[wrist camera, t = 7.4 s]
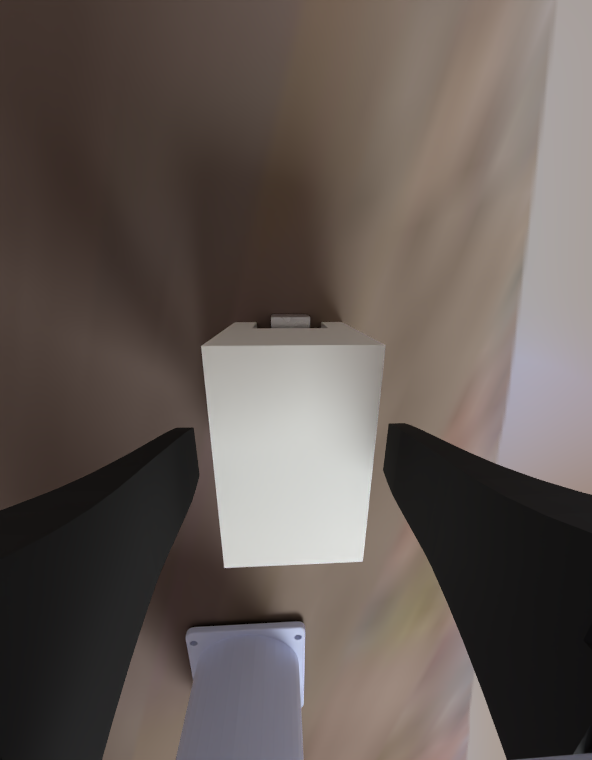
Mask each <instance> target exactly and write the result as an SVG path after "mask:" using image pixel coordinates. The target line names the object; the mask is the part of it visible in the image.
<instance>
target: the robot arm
mask: <svg viewBox="0 0 592 760" xmlns="http://www.w3.org/2000/svg"><path fill="white" fill-rule="evenodd" d="M383 471H384V474H385V477H386V479H387V482H388V485H389V487H390V490H391V492H392V495H393V496H394V498H395V500H396V502H397V504H398V506H399V508H400V509H401V511H402V513H403V515H404V517H405V518H406V520H407V522H408V524H409V526H410V527H411V529H412V531H413V533H414V535H415V536H416V538H417V540H418V542H419V544H420V545H421V547H422V549H423V551H424V553H425V555H426V557H427V559H428V561H429V563H430V565H431V566H432V569H433V571H434V573H435V576H436V578H437V580H438V582H439V585H440V587H441V589H442V591H443V594H444V596H445V598H446V601H447V603H448V605H449V608H450V610H451V613H452V615H453V618H454V620H455V622H456V625H457V627H458V630H459V632H460V635H461V637H462V639H463V642H464V645H465V647H466V650H467V652H468V655H469V658H470V660H471V663H472V665H473V668H474V671H475V673H476V676H477V678H478V681H479V683H480V686H481V689H482V691H483V694H484V697H485V700H486V702H487V705H488V708H489V711H490V714H491V716H492V719H493V722H494V724H495V727H496V730H497V733H498V736H499V739H500V741H501V744H502V747H503V750H504V753H505V755H506V758H507V760H592V495H590V494H586V493H582V492H578V491H575V490H572V489H568V488H565V487H562V486H559V485H555V484H552V483H548V482H545V481H542V480H539V479H536V478H533V477H530V476H527V475H525V474H522V473H519V472H516V471H514V470H511V469H508V468H505V467H503V466H500V465H498V464H495V463H493V462H490V461H488V460H485V459H483V458H481V457H478V456H476V455H474V454H471V453H469V452H467V451H465V450H463V449H460V448H458V447H456V446H454V445H452V444H450V443H448V442H446V441H443V440H441V439H439V438H437V437H435V436H433V435H431V434H429V433H427V432H425V431H423V430H420V429H418V428H416V427H414V426H411V425H408V424H405V423H397V424H389V426H388V434H387V443H386V451H385V460H384V468H383ZM198 479H199V468H198V460H197V452H196V444H195V436H194V428H175V429H173V430H170V431H168V432H167V433H165V434H163V435H161V436H159V437H157V438H156V439H154V440H152V441H150V442H149V443H147V444H145V445H143V446H142V447H140V448H138V449H136V450H135V451H133V452H131V453H129V454H128V455H126V456H124V457H122V458H120V459H118V460H116V461H114V462H112V463H110V464H109V465H107V466H105V467H103V468H101V469H99V470H97V471H95V472H93V473H91V474H89V475H87V476H85V477H83V478H80V479H78V480H76V481H74V482H71V483H69V484H67V485H65V486H62V487H60V488H58V489H55V490H53V491H51V492H48V493H45V494H43V495H40V496H38V497H35V498H32V499H30V500H27V501H24V502H22V503H19V504H17V505H14V506H11V507H9V508H6V509H3V510H1V511H0V760H102V757H103V754H104V750H105V747H106V743H107V740H108V736H109V732H110V729H111V725H112V722H113V718H114V715H115V711H116V708H117V705H118V701H119V698H120V695H121V691H122V688H123V685H124V681H125V678H126V675H127V671H128V668H129V665H130V661H131V658H132V655H133V652H134V649H135V646H136V643H137V639H138V636H139V633H140V630H141V627H142V624H143V621H144V618H145V615H146V612H147V609H148V606H149V603H150V600H151V597H152V594H153V591H154V588H155V586H156V583H157V580H158V577H159V575H160V572H161V570H162V567H163V565H164V563H165V560H166V558H167V556H168V554H169V551H170V549H171V547H172V545H173V543H174V540H175V538H176V536H177V534H178V532H179V529H180V527H181V525H182V523H183V520H184V518H185V516H186V514H187V511H188V509H189V507H190V504H191V502H192V499H193V496H194V493H195V490H196V486H197V482H198ZM186 644H187V649H188V655H189V660H190V666H191V671H192V677H193V685H192V689H191V693H190V698H189V702H188V707H187V711H186V716H185V720H184V725H183V729H182V734H181V738H180V742H179V747H178V751H177V756H176V760H304V757H303V736H302V715H301V707H303V705H304V667H305V624H304V623H303V622H300V621H294V622H276V623H258V624H240V625H222V626H204V627H192V628H190V629H188V630H187V633H186Z"/></svg>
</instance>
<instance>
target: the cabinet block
mask: <svg viewBox="0 0 592 760" xmlns="http://www.w3.org/2000/svg"><path fill="white" fill-rule="evenodd" d="M385 346H386V345H385V344H383V343H381V342H379V341H377V340H375V339H374V338H372V337H370V336H368V335H366V334H364V333H362V332H360V331H358V330H357V329H355V328H353V327H351V326H349V325H347V324H345V323H343V322H321V328H257V322H235V323H233V324H232V325H230V326H229V327H227V328H226V329H225V330H223V331H222V332H220V333H219V334H217V335H216V336H215V337H213V338H212V339H210V340H209V341H207V342H206V343H205V344H203V345H202V346H201V351H202V360H203V370H204V379H205V389H206V398H207V408H208V417H209V427H210V436H211V446H212V456H213V465H214V475H215V484H216V494H217V503H218V513H219V522H220V532H221V541H222V551H223V560H224V568H234V567H256V566H277V565H299V564H321V563H343V562H363V554H364V545H365V535H366V526H367V516H368V507H369V497H370V488H371V478H372V469H373V460H374V450H375V441H376V431H377V422H378V412H379V403H380V393H381V384H382V375H383V365H384V356H385Z"/></svg>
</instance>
